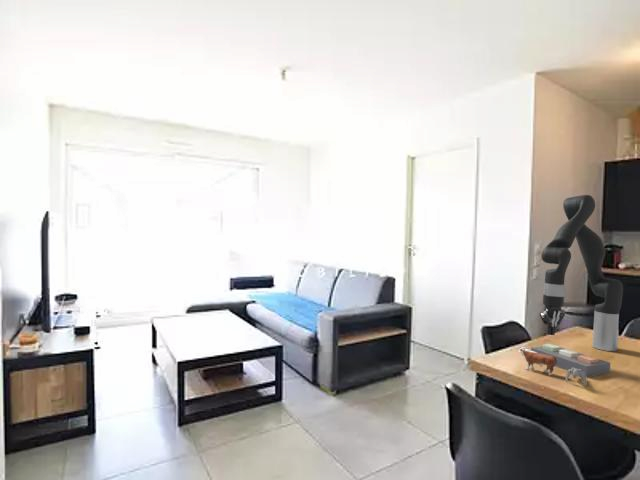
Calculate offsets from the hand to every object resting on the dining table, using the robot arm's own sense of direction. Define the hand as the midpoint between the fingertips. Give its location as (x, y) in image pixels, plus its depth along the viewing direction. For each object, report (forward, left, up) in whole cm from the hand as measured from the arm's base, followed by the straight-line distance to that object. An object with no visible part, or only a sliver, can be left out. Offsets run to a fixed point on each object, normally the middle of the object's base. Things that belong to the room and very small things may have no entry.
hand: (551, 334), depth 160 cm
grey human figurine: (+16, +22, -11) cm, 29 cm away
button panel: (0, +8, -10) cm, 13 cm away
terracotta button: (0, +15, -8) cm, 17 cm away
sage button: (0, 0, -8) cm, 8 cm away
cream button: (0, +8, -8) cm, 11 cm away
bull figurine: (+20, +9, -10) cm, 24 cm away
